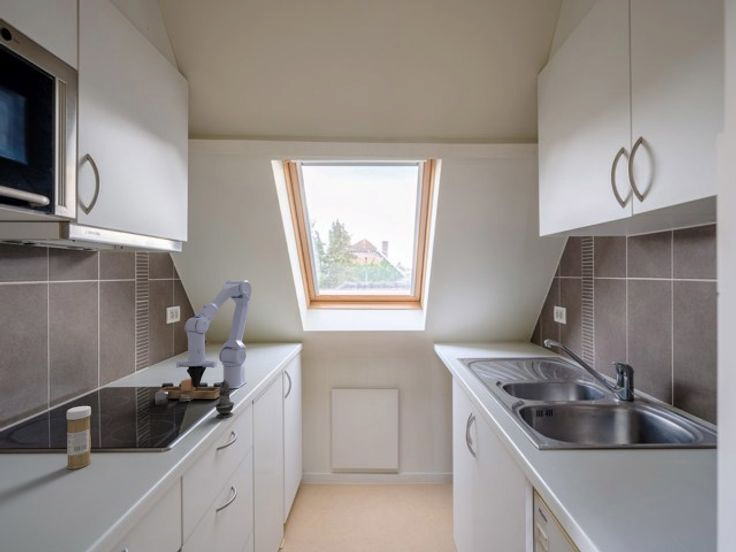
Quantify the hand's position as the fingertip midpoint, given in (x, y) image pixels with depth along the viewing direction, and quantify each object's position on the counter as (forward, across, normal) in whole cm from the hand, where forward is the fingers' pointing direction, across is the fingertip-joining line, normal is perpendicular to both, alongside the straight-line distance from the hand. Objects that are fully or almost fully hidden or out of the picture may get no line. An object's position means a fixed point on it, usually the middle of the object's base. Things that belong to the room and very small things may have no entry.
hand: (196, 386), depth 140 cm
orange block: (+2, -3, 0) cm, 4 cm away
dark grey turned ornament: (+5, +18, -17) cm, 25 cm away
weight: (+4, -10, -6) cm, 12 cm away
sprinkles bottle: (+5, -2, -51) cm, 51 cm away
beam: (+4, -3, 0) cm, 5 cm away
